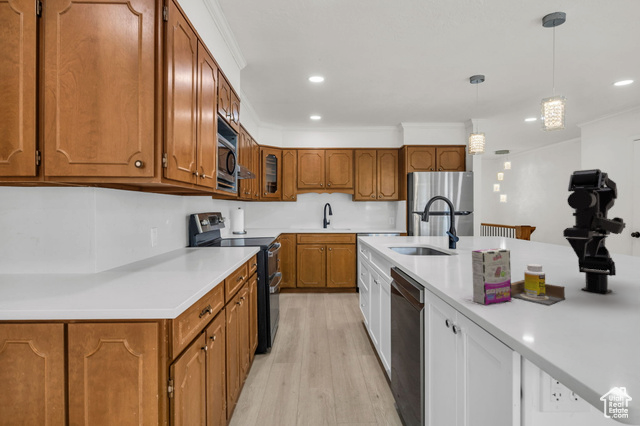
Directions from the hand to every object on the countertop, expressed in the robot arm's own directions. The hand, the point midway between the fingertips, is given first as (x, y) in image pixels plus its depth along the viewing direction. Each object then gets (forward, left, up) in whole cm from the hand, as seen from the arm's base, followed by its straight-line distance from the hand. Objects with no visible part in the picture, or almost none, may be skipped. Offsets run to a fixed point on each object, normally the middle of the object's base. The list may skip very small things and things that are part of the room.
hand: (587, 258), depth 97 cm
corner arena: (+11, -10, -13) cm, 20 cm away
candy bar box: (+26, -16, -13) cm, 33 cm away
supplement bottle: (+12, -10, -13) cm, 20 cm away
